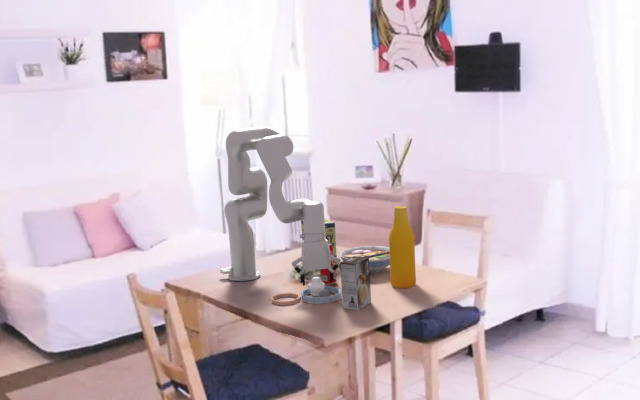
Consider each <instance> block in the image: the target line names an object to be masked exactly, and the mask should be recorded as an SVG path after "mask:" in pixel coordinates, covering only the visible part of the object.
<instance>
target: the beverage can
mask: <svg viewBox="0 0 640 400" xmlns="http://www.w3.org/2000/svg"><path fill="white" fill-rule="evenodd" d="M328 244H329V249H330V255H332V256H334V254H333V247H332V244H331V243H328ZM335 263H336V261H334V260H331V266H332V267H333V266H334V265H335ZM319 273H320V278H321V281H322V282H323V283H324V284H325V286H330V285H334V284H336V283H337V273H336V270H335V271H334V272H333V275H334V281H332V284H331V283H330V281H329V270H328V268H327V269H319Z"/></svg>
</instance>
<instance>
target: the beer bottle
mask: <svg viewBox="0 0 640 400" xmlns="http://www.w3.org/2000/svg"><path fill="white" fill-rule="evenodd" d="M393 212H394V213H393V216H394V217H393V224H392V227H391V229H390V232H389V235H388V246H389V252H390V265H389V269H390V271H389V273H390V277H389V278H390V280H389V281H390V282H389V283H390V285H391V286H392V288H395V289H410V288H413V287H415V286H416V284H417V282H416V281H417V278H416V277H417V275H416V257H415V256H416V252H415V245H416V244H415V234H414V231H413V229H412V227H411V225H410V222H409V216H408V209H407V206H405V205H397V206H394V210H393Z"/></svg>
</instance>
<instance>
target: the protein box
mask: <svg viewBox="0 0 640 400" xmlns="http://www.w3.org/2000/svg"><path fill="white" fill-rule="evenodd" d="M324 221H325V239H327V240H328V243H331V244H332V247H333V254H334V257H337V238H336V236H337V235H336V223H335V221H332V220H330V219H328V218H327V217H324ZM300 224H301V227H300V228H301V234H303V233H304V228H303V220H300ZM303 240H304V239H303V238H301V243H302V242H303ZM337 258H338V257H337Z"/></svg>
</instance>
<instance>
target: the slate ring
mask: <svg viewBox="0 0 640 400" xmlns="http://www.w3.org/2000/svg"><path fill="white" fill-rule="evenodd" d="M324 290H327V291H328V292H329V293H332V294H331V295H329V297H314V296H309V295H310V294H311V292H310V291H309V288H308V287H307V288H305V289H302V290H300V297H301V301H302V302H305V303H309V304H313V305H314V304H330V303H333V302H335V301H338V300H340V299H341V300H342V290H341V288H340V287H336V286H335V287H334V286H333V285H332V286H330V285H325V288H324ZM311 295H312V294H311Z"/></svg>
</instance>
